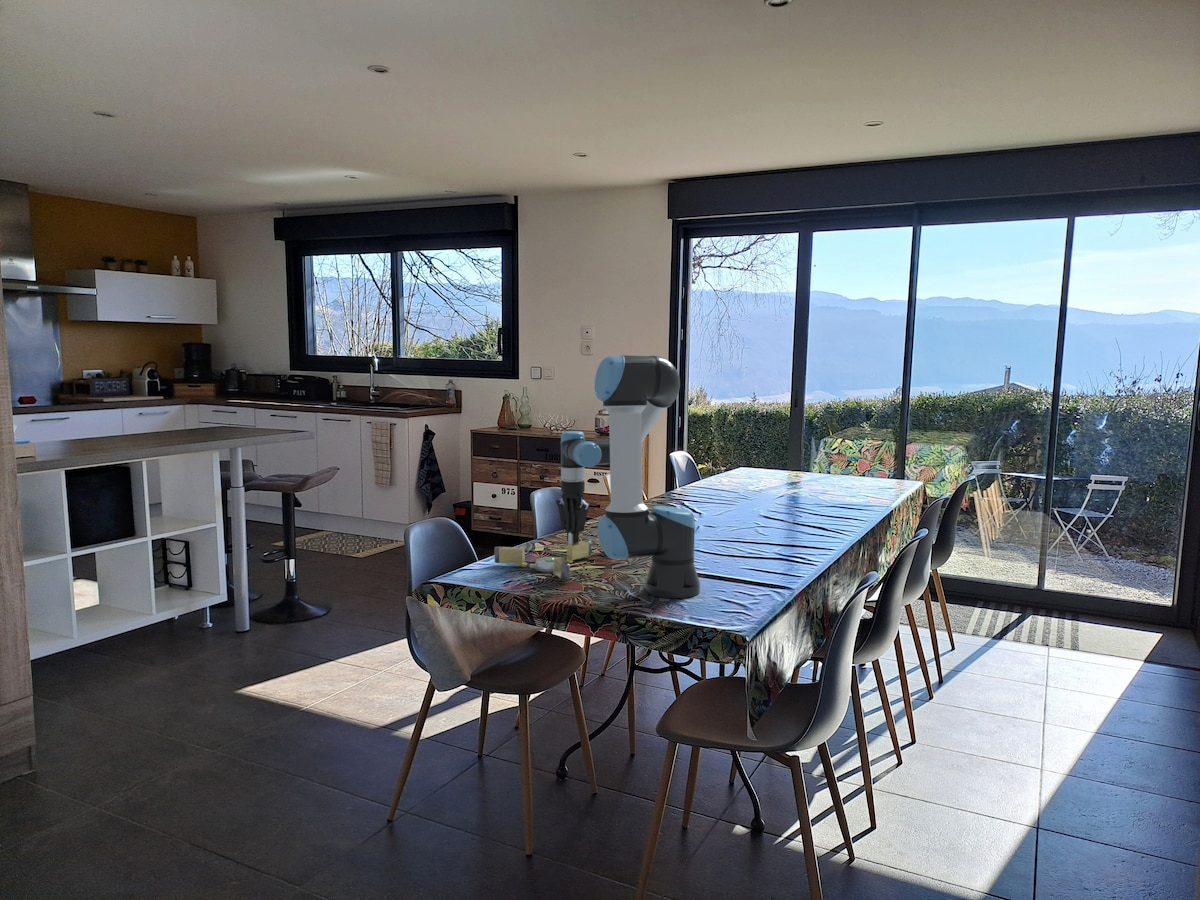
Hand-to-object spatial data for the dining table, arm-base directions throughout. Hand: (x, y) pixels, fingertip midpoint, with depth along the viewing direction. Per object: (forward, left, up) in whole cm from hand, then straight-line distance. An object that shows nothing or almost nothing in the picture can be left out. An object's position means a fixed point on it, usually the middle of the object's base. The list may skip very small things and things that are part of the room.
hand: (572, 552), depth 256 cm
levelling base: (-14, +4, -2) cm, 15 cm away
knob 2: (-3, -3, -2) cm, 4 cm away
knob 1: (-25, -3, -2) cm, 25 cm away
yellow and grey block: (-14, +16, -2) cm, 22 cm away
